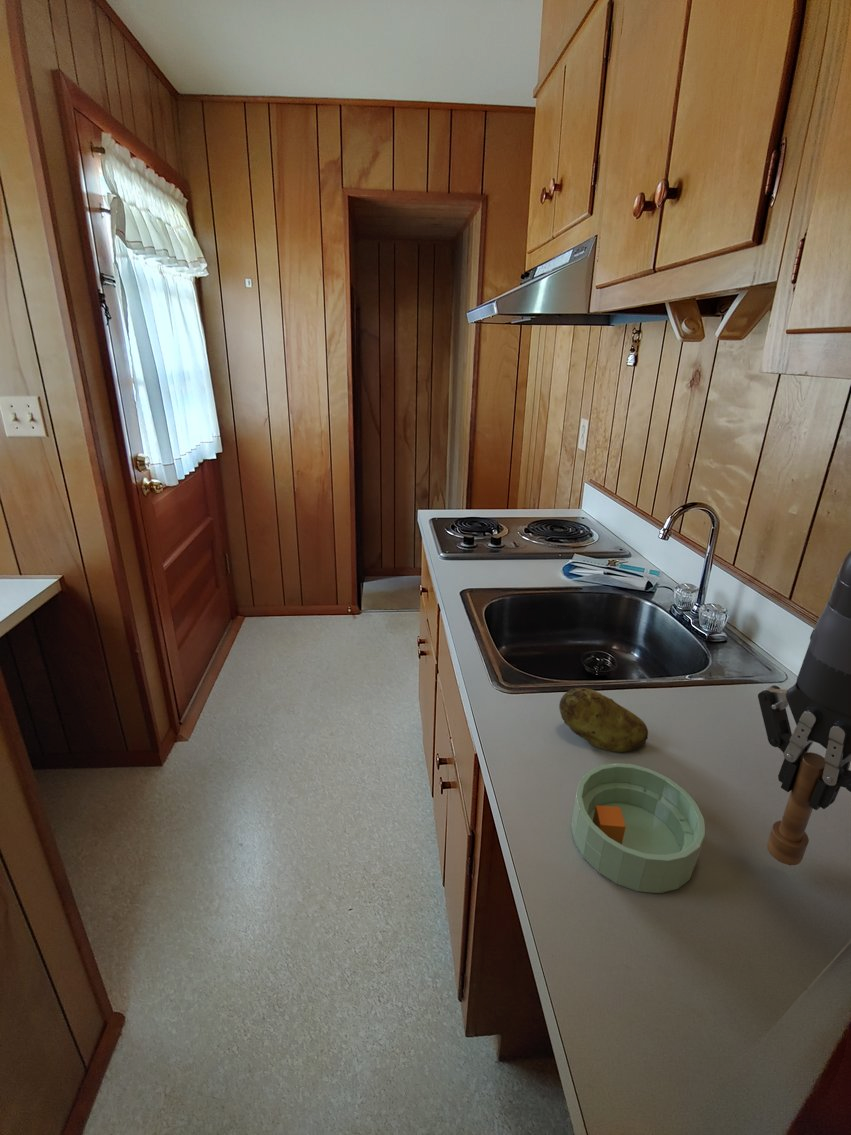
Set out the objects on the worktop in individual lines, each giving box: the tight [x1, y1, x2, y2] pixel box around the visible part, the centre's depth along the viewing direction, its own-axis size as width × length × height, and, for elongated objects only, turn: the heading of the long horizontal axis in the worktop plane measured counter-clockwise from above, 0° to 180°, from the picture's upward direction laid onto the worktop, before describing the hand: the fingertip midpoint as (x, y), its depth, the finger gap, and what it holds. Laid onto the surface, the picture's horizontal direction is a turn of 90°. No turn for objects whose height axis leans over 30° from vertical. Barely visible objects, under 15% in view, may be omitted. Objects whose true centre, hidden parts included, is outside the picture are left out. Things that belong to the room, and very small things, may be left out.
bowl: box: [570, 762, 706, 894], centre depth 67 cm, size 14×14×6 cm
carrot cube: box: [593, 805, 626, 845], centre depth 68 cm, size 3×3×3 cm
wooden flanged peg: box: [766, 751, 825, 866], centre depth 59 cm, size 3×3×14 cm
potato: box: [558, 687, 649, 753], centre depth 84 cm, size 8×13×8 cm, turn 56°
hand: (802, 795), depth 58 cm, fingers closed on wooden flanged peg, 2 cm apart
